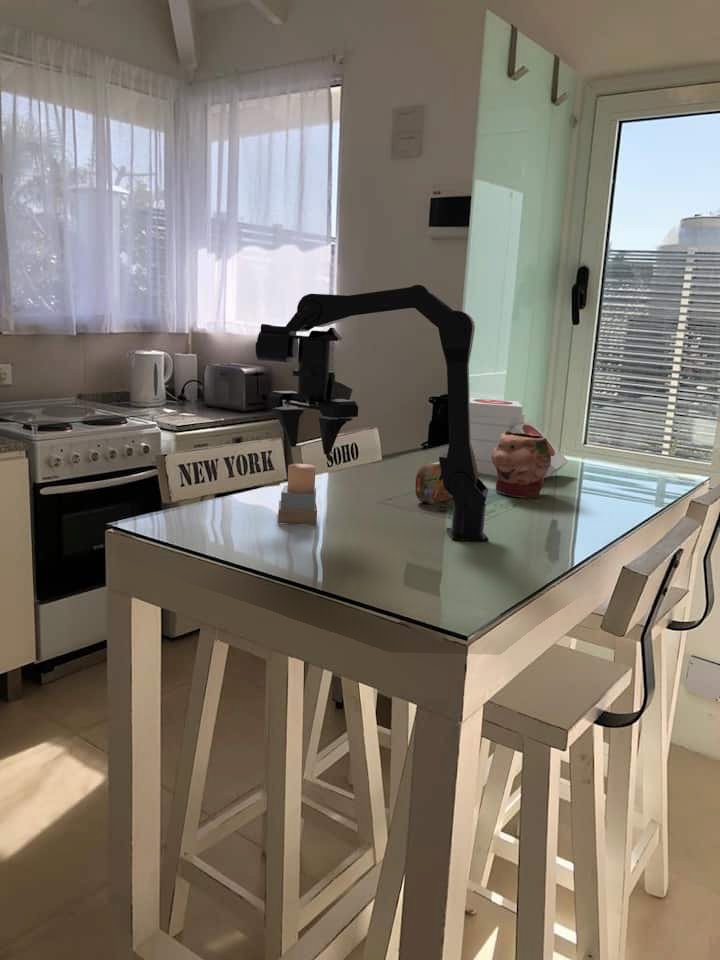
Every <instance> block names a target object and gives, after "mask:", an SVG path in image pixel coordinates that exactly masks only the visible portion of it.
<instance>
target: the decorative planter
mask: <svg viewBox="0 0 720 960" xmlns="http://www.w3.org/2000/svg"><path fill="white" fill-rule="evenodd" d="M545 437H546V436H545ZM545 437H543V436H539V435H531V434H523V433H512V432H509V431H507V432H505V433H503V434H501V436H500V442H499V444H498V445H497V446H496V447H495V448H494V449H493V451H492V455H491V457H492V462H493V464H494V466H495V468H496V470H497V476H496V482H495V490H496V492H497V493H499V494H502V495H507V496H510V497H517V498H525V499H527V498H528V499H531V498H536V497H538V496H539V495H540V493H541V490H542V488H543V485H544V481H545V478H546V473H547V471H548V469H549V467H550V463H551V454H550V450H549V448H548V444H547V439H548V438H547V437H546V438H547V439H546V438H545Z"/></svg>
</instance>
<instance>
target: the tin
mask: <svg viewBox="0 0 720 960" xmlns="http://www.w3.org/2000/svg"><path fill="white" fill-rule="evenodd" d="M440 476H441V467H440V462H439V461H436V462H432V463H427V464H424V465H422V466H421V467H420V468H419V469H418V471H417V473H416V477H415V495H416V498H417V499H418V501H419V502H421V503H426V504H430V505H434V504H438V503H441V502H443V501H448V500H451V499H453V497H452V495H451V494H450V493H448V492H447V491H446V490H445V488H444V484H443V479H442V480H439V478H440Z"/></svg>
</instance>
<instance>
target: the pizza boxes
mask: <svg viewBox="0 0 720 960" xmlns="http://www.w3.org/2000/svg"><path fill="white" fill-rule="evenodd" d="M523 408H524V407H523V405H522V404H521V403H520V402H519V401H517V400H514V401H513V400H503V399H502V400H501V399H491V398H490V399H489V398H477V397H475V398H474V397H470V436H471V445H472V449H473V452H474V456H475V461H476V466H477V471H478V474H483V475H491V476H495V477H497V470H496V468H495V466H494V464H493V462H492V457H491V455H492V451H493V449H494V448H495V447H496V446H497V445H498V444H499V442H500V436H501V434H503V433H505V432H507V431H509V432H512V433H523V434H531V435H539V436H543V437H545V438H546V439H547V444H548V448H549V450H550V454H551V463H550V467H549V469H548V471H547V473H546V476H545V478H549V477H550V476H552V475H553V474H555V473H557V472H558V471H560V470H561V469H562V468H564V466H566V465H567V464H568V463H569V460H568V459H567V458H566V457H565V456H564V455H563V454H562V453H561V452H560V450H559V449H557V447H555V445H554V444H553V443H552V442H551V441H550V440H549V439H548V438H547V437H546V436H545V435H544V433H542V431H540V430H539V428H538V427H537V426H536V425H535V424H534V423H533V422H532V421H531V420H528V421H526V422H525V417H526V415H525V414H523Z"/></svg>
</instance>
